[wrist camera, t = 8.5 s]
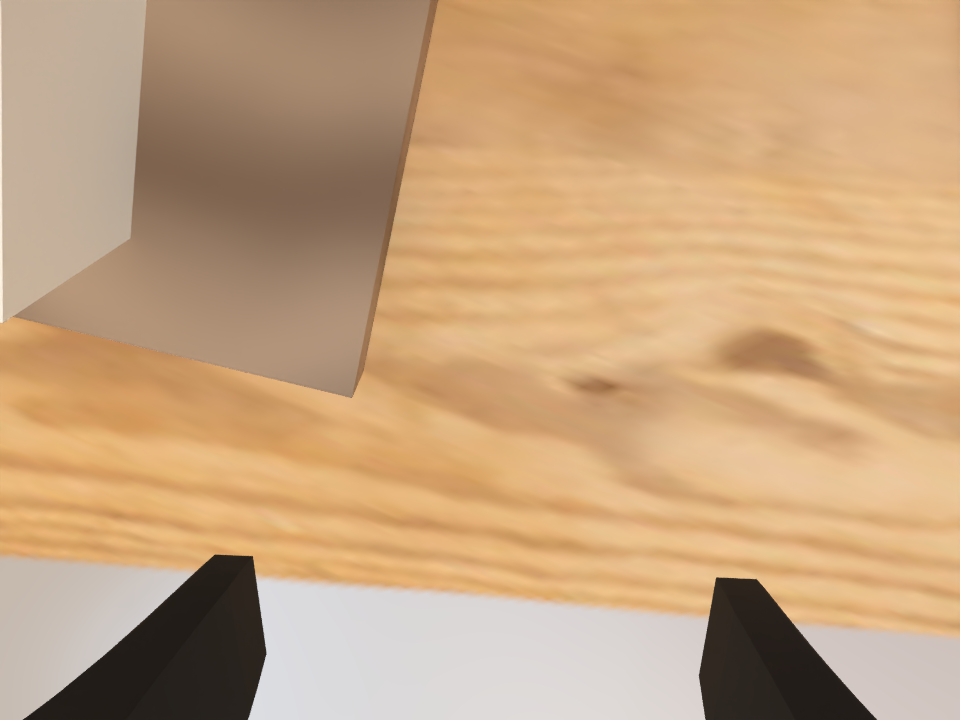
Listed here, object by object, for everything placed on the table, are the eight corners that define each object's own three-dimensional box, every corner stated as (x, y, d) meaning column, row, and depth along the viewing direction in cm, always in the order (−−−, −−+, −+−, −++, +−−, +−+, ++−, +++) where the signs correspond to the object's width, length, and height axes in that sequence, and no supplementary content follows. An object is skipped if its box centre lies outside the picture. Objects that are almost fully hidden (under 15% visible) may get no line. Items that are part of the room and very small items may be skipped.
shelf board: (-232, -276, 16) (-303, -299, 15) (455, -88, 17) (449, -93, 15) (-170, 242, 21) (-219, 261, 19) (363, 370, 21) (351, 398, 20)
